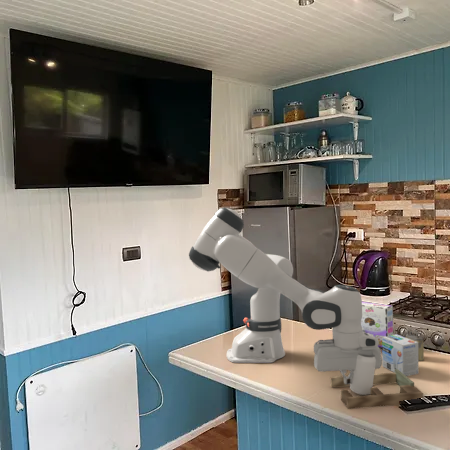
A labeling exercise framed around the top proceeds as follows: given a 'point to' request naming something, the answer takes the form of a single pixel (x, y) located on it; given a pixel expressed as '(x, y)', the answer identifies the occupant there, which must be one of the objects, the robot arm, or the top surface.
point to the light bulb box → (400, 354)
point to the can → (363, 375)
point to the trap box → (377, 396)
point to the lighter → (420, 342)
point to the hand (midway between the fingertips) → (347, 383)
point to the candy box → (377, 320)
